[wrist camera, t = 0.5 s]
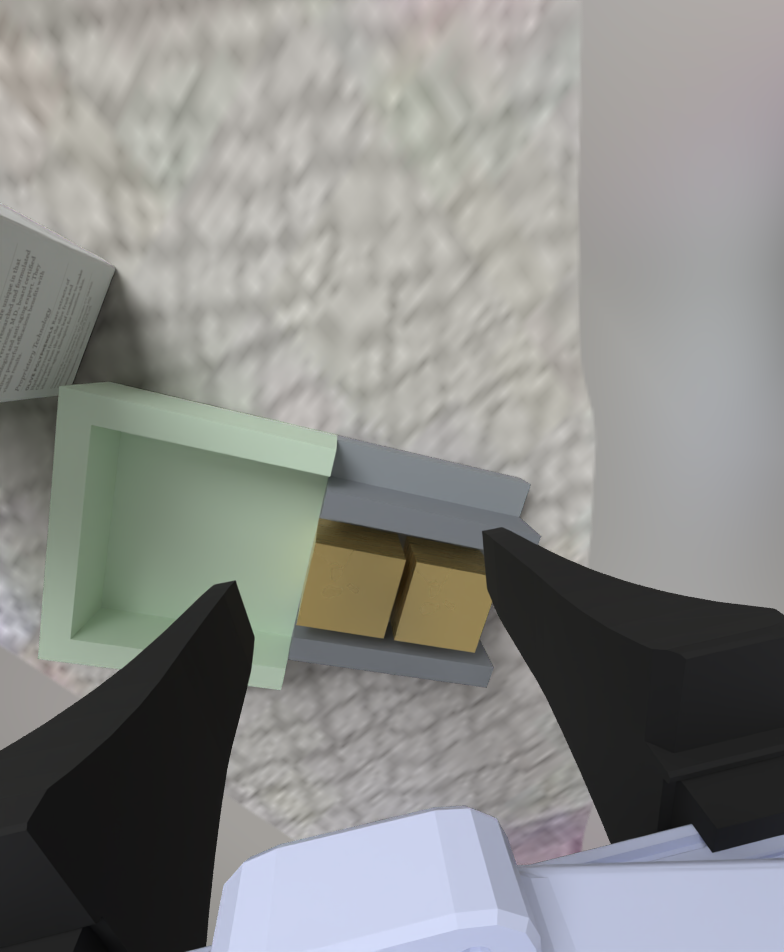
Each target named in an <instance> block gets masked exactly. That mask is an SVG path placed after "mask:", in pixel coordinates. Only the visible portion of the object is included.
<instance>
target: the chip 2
mask: <svg viewBox="0 0 784 952" xmlns="http://www.w3.org/2000/svg"><path fill="white" fill-rule="evenodd" d="M403 552H404V556H405V559H406V562H405V565H404V569H403V572H402V576H401V579H400V583H399V586H398V590H397V593H396V597H395V600H394V604H393V607H392V611H391V614H390V621H391V627H392V632H393V637H394V640H396V641H402V642H409V643H415V644H422V645H428V646H435V647H441V648H447V649H454V650H460V651H467V652H473V653H475V650H476V648H477V645H478V642H479V639H480V636H481V633H482V630H483V627H484V624H485V621H486V618H487V616H488V613H489V610H490V607H491V604H492V600H491V597H490V595H489V593H488V590H487V584H486V572H485V561H484V555H483V554H482V552H481V551H480V550H476V549H471V548H466V547H461V546H456V545H451V544H446V543H441V542H436V541H431V540H426V539H421V538H416V537H411V536H407V537H406V540H405V544H404V548H403Z"/></svg>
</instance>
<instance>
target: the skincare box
mask: <svg viewBox="0 0 784 952" xmlns="http://www.w3.org/2000/svg"><path fill="white" fill-rule="evenodd" d="M114 272H115V267H114V266H113V265H112V264H110V263H109V262H107V261H105V260H104V259H102V258H101V257H99V256H97V255H95V254H93V253H91V252H90V251H88V250H86V249H84V248H82V247H80V246H79V245H77V244H75V243H73V242H72V241H70V240H68V239H66V238H64V237H63V236H61V235H59V234H57V233H55V232H54V231H52V230H50V229H48V228H46V227H45V226H43V225H41V224H39V223H37V222H35V221H34V220H32V219H30V218H28V217H26V216H25V215H23V214H21V213H19V212H17V211H16V210H14V209H12V208H10V207H8V206H6V205H4V204H2V203H1V202H0V402H7V401H16V400H25V399H33V398H43V397H52V396H59V386H66V385H72V383H73V381H74V378H75V375H76V373H77V370H78V367H79V365H80V362H81V359H82V357H83V354H84V351H85V348H86V346H87V343H88V340H89V338H90V335H91V332H92V330H93V327H94V324H95V322H96V319H97V317H98V314H99V311H100V309H101V306H102V303H103V301H104V298H105V295H106V293H107V290H108V287H109V285H110V282H111V279H112V277H113V275H114Z"/></svg>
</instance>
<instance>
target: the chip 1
mask: <svg viewBox="0 0 784 952" xmlns="http://www.w3.org/2000/svg"><path fill="white" fill-rule="evenodd" d="M405 562H406V559H405V556H404V552H403V549H402V546H401V543H400V540H399V537H398V534H396V533H391V532H386V531H381V530H376V529H371V528H366V527H361V526H356V525H351V524H346V523H341V522H336V521H331V520H326V519H321V518H319V520H318V524H317V529H316V533H315V537H314V542H313V546H312V550H311V555H310V559H309V563H308V568H307V572H306V576H305V581H304V585H303V589H302V595H301V601H300V607H299V612H298V618H297V624H296V625H299V626H306V627H312V628H319V629H325V630H332V631H338V632H344V633H351V634H357V635H364V636H370V637H377V638H383V639H384V635H385V632H386V628H387V625H388V621H389V618H390V614H391V611H392V607H393V604H394V600H395V597H396V593H397V590H398V586H399V583H400V579H401V576H402V572H403V569H404V565H405Z"/></svg>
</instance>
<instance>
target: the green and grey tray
mask: <svg viewBox="0 0 784 952" xmlns="http://www.w3.org/2000/svg"><path fill="white" fill-rule="evenodd" d="M530 485H531V484H529V483H528V482H526V481H524V480H523V479H521V478H518V477H513V476H509V475H505V474H501V473H496V472H492V471H488V470H484V469H479V468H475V467H471V466H466V465H462V464H458V463H454V462H449V461H445V460H441V459H437V458H432V457H428V456H424V455H420V454H415V453H411V452H407V451H403V450H398V449H394V448H390V447H386V446H381V445H377V444H373V443H369V442H364V441H360V440H356V439H351V438H347V437H343V436H339V435H334V434H330V433H326V432H322V431H317V430H313V429H309V428H305V427H300V426H296V425H292V424H288V423H283V422H279V421H275V420H271V419H266V418H262V417H258V416H254V415H249V414H245V413H241V412H236V411H232V410H228V409H224V408H219V407H215V406H211V405H207V404H202V403H198V402H194V401H190V400H185V399H181V398H177V397H173V396H168V395H164V394H160V393H156V392H151V391H147V390H143V389H139V388H134V387H130V386H126V385H121V384H117V383H113V382H100V383H88V384H77V385H66V386H59V396H58V409H57V421H56V434H55V447H54V460H53V473H52V485H51V498H50V511H49V524H48V537H47V549H46V562H45V575H44V588H43V600H42V613H41V626H40V639H39V652H38V659H42V660H50V661H57V662H65V663H73V664H81V665H89V666H96V667H104V668H112V669H122V668H123V667H124V666H125V665H127V664H128V663H129V662H130V661H131V660H133V659H134V658H135V657H136V656H137V655H138V654H139V653H141V652H142V651H143V650H144V649H145V648H146V647H147V646H148V645H149V644H151V643H152V642H153V641H154V640H155V639H156V638H157V637H158V636H160V635H161V634H162V633H163V632H164V631H165V630H166V629H167V628H168V627H169V626H170V625H171V624H172V623H173V622H174V621H175V620H177V619H178V618H179V617H180V616H181V615H182V614H183V613H184V612H185V611H186V610H187V609H188V608H189V607H190V606H191V605H192V604H193V603H194V602H195V601H196V600H197V599H198V598H199V597H200V596H201V595H202V594H204V593H205V592H206V591H207V590H208V589H209V588H210V587H212V586H213V585H214V584H219V583H224V582H229V581H234V580H236V583H237V586H238V589H239V592H240V595H241V598H242V601H243V604H244V607H245V610H246V613H247V615H248V618H249V621H250V624H251V627H252V630H253V633H254V636H255V642H254V652H253V661H252V669H251V674H250V678H249V682H248V686H252V687H260V688H268V689H275V690H281V687H282V683H283V679H284V674H285V670H286V665H287V659H288V660H294V661H301V662H308V663H316V664H323V665H330V666H337V667H344V668H351V669H358V670H365V671H372V672H379V673H386V674H394V675H401V676H408V677H415V678H422V679H429V680H436V681H443V682H450V683H457V684H464V685H472V686H479V687H486V688H487V685H488V682H489V680H490V677H491V674H492V671H493V668H494V667H493V665H492V663H491V661H490V659H489V657H488V655H487V653H486V651H485V649H484V647H483V645H482V643H481V641H480V639H479V642H478V645H477V648H476V650H475V653H473V652H467V651H460V650H454V649H447V648H441V647H435V646H428V645H422V644H415V643H409V642H402V641H396V640H394V637H393V632H392V627H391V621H390V618H389V621H388V625H387V628H386V632H385V635H384V639H383V638H377V637H370V636H364V635H357V634H351V633H344V632H338V631H332V630H325V629H319V628H312V627H306V626H299V625H296V624H297V618H298V612H299V607H300V601H301V595H302V589H303V585H304V581H305V576H306V572H307V568H308V563H309V559H310V555H311V550H312V546H313V542H314V537H315V533H316V529H317V524H318V520H319V518H321V519H326V520H331V521H336V522H341V523H346V524H351V525H356V526H361V527H366V528H371V529H376V530H381V531H386V532H391V533H396V534H398V537H399V540H400V543H401V546H402V549H403V548H404V544H405V540H406V537H407V536H411V537H416V538H421V539H426V540H431V541H436V542H441V543H446V544H451V545H456V546H461V547H466V548H471V549H476V550H480V551H481V552H482V554H483V555H484V549H483V537H482V531H484V530H489V529H494V528H499V527H503V528H506V529H508V530H510V531H512V532H514V533H516V534H518V535H520V536H521V537H523V538H525V539H527V540H529V541H531V542H533V543H535V544H537V545H538V543H539V540H540V537H541V536H540V535H539V534H538V533H537V532H536V531H535V530H534V529H532V528H531V527H530V526H529V525H528V524H527V523H526V522H524V521H523V520H522V519H521V518H520V514H521V511H522V508H523V505H524V502H525V499H526V497H527V494H528V491H529V488H530Z"/></svg>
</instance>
